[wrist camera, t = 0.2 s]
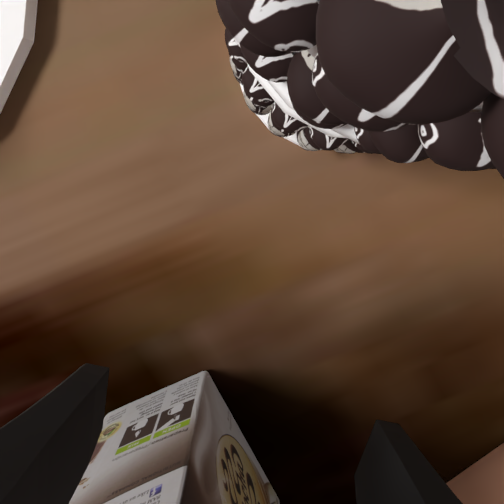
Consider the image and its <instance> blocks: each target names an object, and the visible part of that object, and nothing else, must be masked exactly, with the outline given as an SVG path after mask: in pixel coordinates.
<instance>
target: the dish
mask: <svg viewBox="0 0 504 504" xmlns="http://www.w3.org/2000/svg"><path fill="white" fill-rule="evenodd" d="M37 5H38V0H0V114H1V111H2V109H3V107H4V105H5V103H6V101H7V99H8V97H9V94H10V92H11V90H12V88H13V86H14V84H15V82H16V79H17V77H18V75H19V73H20V71H21V69H22V67H23V65H24V62H25V60H26V58H27V56H28V54H29V52H30V50H31V48H32V45H33V43H34V38H35V27H36V16H37Z"/></svg>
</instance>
